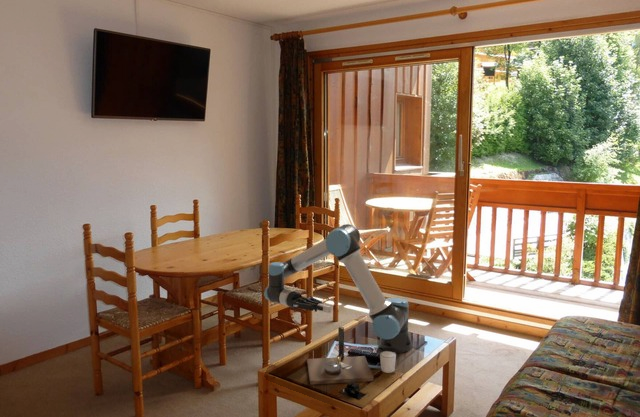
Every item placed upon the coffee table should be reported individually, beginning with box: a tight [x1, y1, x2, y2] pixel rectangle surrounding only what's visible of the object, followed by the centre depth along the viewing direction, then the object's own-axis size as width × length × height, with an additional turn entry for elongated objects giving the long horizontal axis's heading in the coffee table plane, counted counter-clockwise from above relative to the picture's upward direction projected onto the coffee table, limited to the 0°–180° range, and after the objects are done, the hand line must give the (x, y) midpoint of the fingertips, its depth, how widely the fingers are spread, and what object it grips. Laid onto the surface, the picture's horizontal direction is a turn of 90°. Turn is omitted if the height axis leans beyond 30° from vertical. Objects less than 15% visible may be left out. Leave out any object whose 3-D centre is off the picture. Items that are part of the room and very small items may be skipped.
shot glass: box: [379, 350, 397, 374], centre depth 208 cm, size 7×7×7 cm
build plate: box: [338, 381, 367, 401], centre depth 190 cm, size 12×7×5 cm, turn 52°
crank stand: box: [306, 355, 375, 385], centre depth 208 cm, size 26×20×2 cm
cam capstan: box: [324, 326, 345, 374], centre depth 208 cm, size 17×7×14 cm, turn 160°
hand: (329, 309), depth 217 cm, fingers closed
